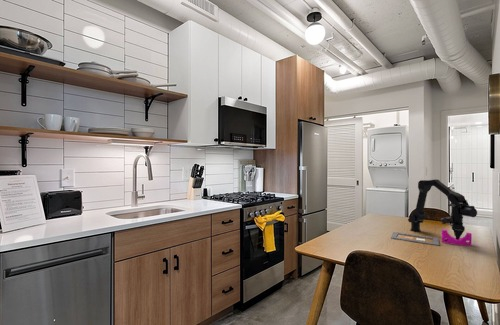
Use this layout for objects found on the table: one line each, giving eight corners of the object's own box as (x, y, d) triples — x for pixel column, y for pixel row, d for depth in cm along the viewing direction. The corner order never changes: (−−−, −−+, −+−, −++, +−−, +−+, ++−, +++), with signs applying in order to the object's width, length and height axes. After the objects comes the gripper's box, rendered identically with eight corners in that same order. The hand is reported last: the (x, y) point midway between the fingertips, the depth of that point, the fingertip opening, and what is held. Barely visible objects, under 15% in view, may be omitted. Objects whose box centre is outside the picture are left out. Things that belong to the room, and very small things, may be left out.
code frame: (393, 232, 194) (393, 231, 194) (438, 238, 179) (438, 238, 179) (390, 238, 179) (390, 237, 179) (439, 245, 164) (439, 244, 164)
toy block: (442, 242, 171) (442, 231, 171) (441, 240, 176) (441, 229, 176) (471, 247, 163) (472, 235, 163) (470, 244, 168) (470, 233, 168)
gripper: (440, 210, 181) (440, 232, 182) (442, 214, 166) (442, 239, 166) (461, 212, 175) (460, 235, 175) (465, 217, 160) (464, 242, 160)
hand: (456, 238), depth 169 cm, fingers open, 9 cm apart
